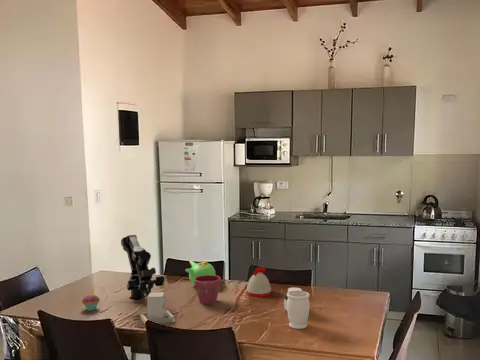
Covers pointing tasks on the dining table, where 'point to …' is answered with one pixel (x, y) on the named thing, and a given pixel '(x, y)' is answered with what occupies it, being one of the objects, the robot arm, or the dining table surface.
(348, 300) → the dining table surface
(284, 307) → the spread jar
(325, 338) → the dining table surface
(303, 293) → the jar
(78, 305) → the dining table surface
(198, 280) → the plant pot
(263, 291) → the chicken egg cooker
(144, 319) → the bay
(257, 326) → the dining table surface
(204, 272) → the toy bird
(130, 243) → the robot arm
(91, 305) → the cupcake
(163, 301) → the supplement box
